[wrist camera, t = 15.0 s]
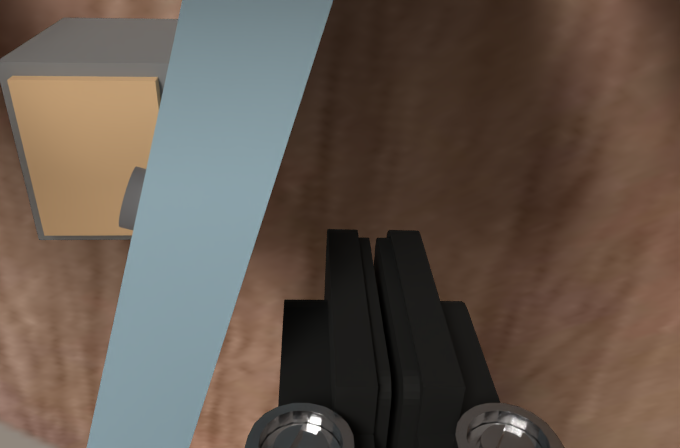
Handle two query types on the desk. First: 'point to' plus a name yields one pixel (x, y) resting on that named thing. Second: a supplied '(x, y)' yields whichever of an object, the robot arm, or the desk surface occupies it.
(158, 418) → the door
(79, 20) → the doorstop
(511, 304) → the desk surface
